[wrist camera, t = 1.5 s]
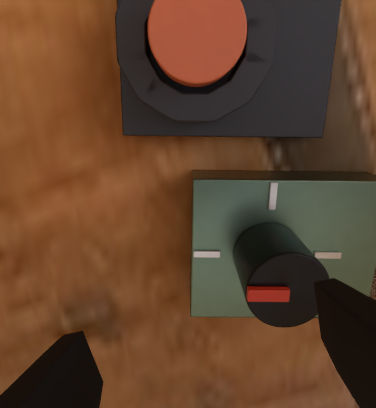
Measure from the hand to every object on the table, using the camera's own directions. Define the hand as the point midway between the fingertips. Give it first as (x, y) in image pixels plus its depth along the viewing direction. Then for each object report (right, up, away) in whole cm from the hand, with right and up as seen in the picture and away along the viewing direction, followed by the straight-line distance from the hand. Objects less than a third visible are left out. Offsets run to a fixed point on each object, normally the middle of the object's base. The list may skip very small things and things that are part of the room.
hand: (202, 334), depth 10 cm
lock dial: (+4, +1, +7) cm, 8 cm away
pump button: (0, +11, +4) cm, 11 cm away
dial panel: (+5, +2, +9) cm, 11 cm away
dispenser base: (+1, +12, +7) cm, 13 cm away
